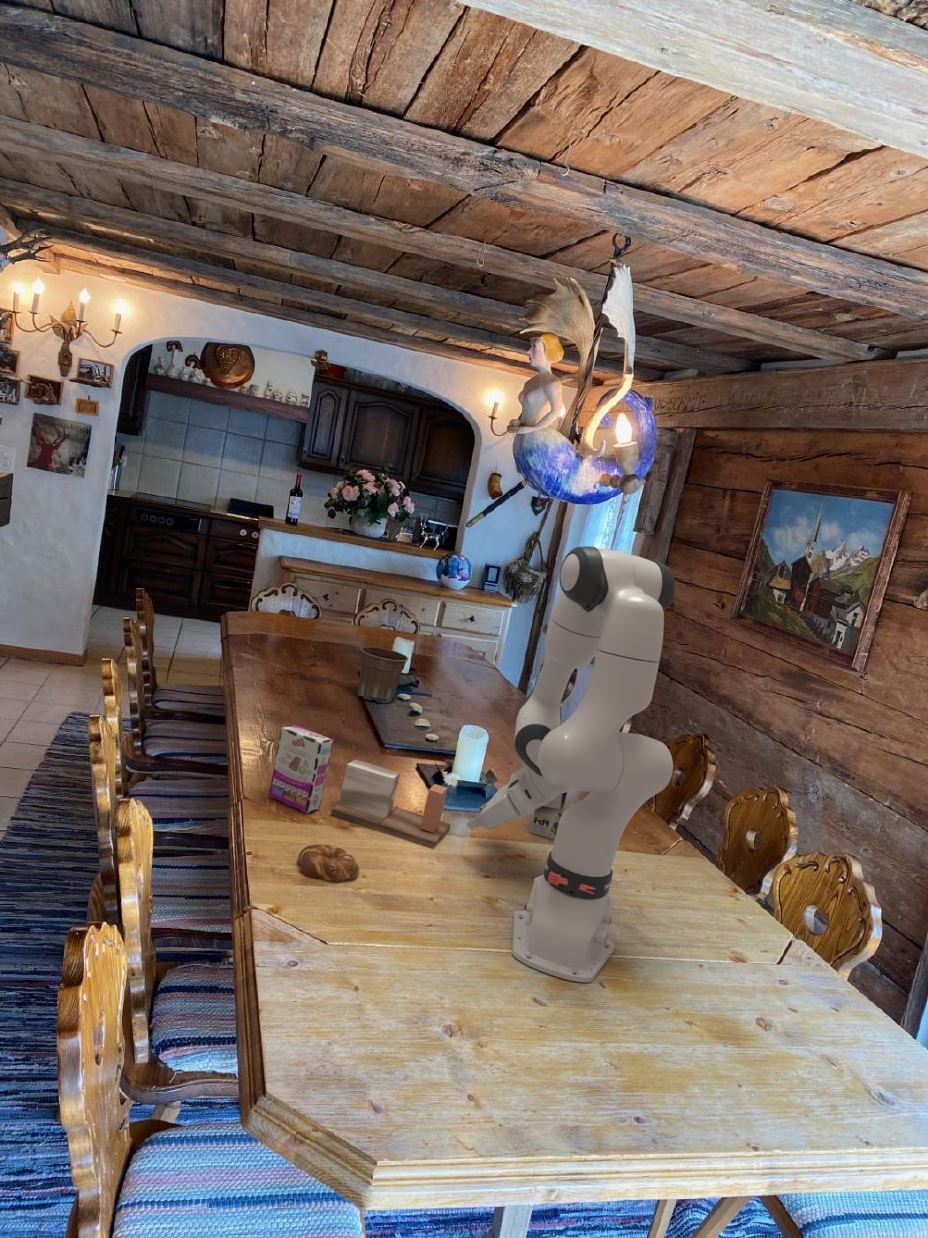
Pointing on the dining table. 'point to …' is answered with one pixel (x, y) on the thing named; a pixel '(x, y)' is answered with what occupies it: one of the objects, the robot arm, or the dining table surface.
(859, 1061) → the dining table surface
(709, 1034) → the dining table surface
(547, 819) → the coffee box
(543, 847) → the dining table surface
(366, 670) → the plant pot
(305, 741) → the candy bar box
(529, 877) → the dining table surface
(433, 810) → the stub
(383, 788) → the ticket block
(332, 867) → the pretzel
